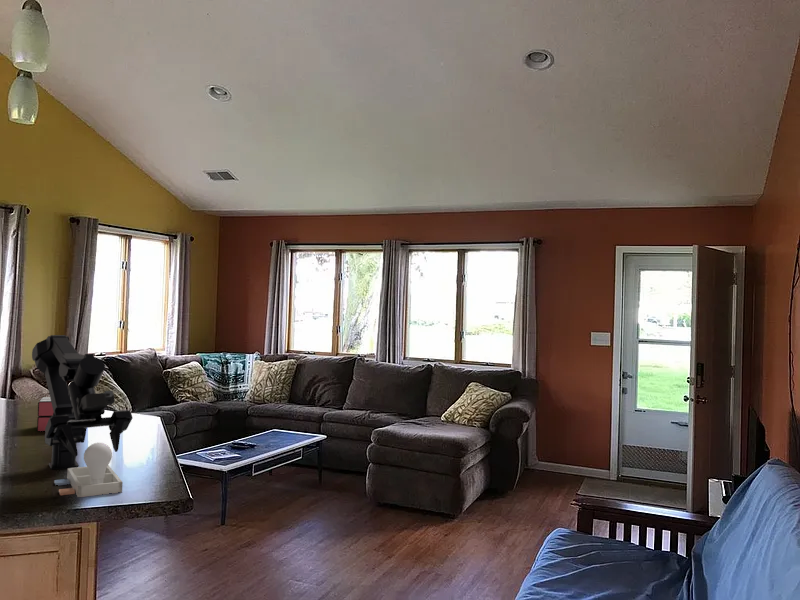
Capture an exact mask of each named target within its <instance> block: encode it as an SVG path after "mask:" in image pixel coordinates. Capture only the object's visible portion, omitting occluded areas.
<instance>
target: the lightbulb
mask: <svg viewBox="0 0 800 600" xmlns="http://www.w3.org/2000/svg"><path fill="white" fill-rule="evenodd" d="M112 458H113V451H112V448H110V446H109V445H107V444H106V443H104V442H95V443H92V444H90V445H89V446H88V447H87V448H86V449H85V450H84V453H83V461H84V463H85V466H86V467H88V469H89V473H90V479H91V485H92V484H101V483H103V478H104V476H105V471H106V468H107V466H108V465H109V464H110V463H111V460H112Z"/></svg>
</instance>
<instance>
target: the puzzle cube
mask: <svg viewBox="0 0 800 600" xmlns="http://www.w3.org/2000/svg"><path fill="white" fill-rule="evenodd" d="M53 413H54V411H53V407H52V403H51V399H50V396H48V397H47V396H45V397H44V396H43V397H42V398H40V400H39V401H38V403H37V420H36V421H37V426H36V431H37V432H38V431H40V432H41V431H42V432H43V431H45V428H46V425H47V423H48V420H49V418H50V417H51V416H52V415H53ZM40 432H39V433H40ZM42 432H41V433H42ZM43 433H44V432H43Z"/></svg>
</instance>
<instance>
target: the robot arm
mask: <svg viewBox="0 0 800 600" xmlns="http://www.w3.org/2000/svg"><path fill="white" fill-rule="evenodd" d="M31 358H32V361H34V364H35V366H36V369H37V370H39V371H40V372H41V373H42V374H44V376H45V381H46V385H47V389H48V393H49V397H50V399H51V403H52V407H53V411H54V413H53V415H52V416H51V417H50V418H49V420H48V423H47V425H46V428H45V434H44V443H45V444H46V445H47V446H49V447H52V448H51V449H52V451H51V462H48V466H49V468H50V470H61V469H67V468H76V467H80V465H79V463H78V462H77V461H76V460H77V456H78V455H79V454H78V453H79V452H78V447H77V444H78V443H79V444H81V443H84V442H85V441H86V434H87V429H88V428H97V427H108V429H109V431H110V432H109V438H110V441H111V444H112V448H113V450H114V452H118V451H119V446H120V439H121V434H122V433H123V432H125V431H126V430H128V428H129V426H130V424H131V423H132V419H133V415H132V414H133V413H132V411H130V410H128V409H123V410H113V413H112V415H111V416H109V417H108V416H107V417H102V415H104V414H105V408H107V407H108V406H112V405H113V404H114V403H115V400H116V399H115V394H114V392H113V390H106V391H104V392H103V393H102V392H100V393H98V392H97V393H96V389H95V387H97V386H98V385H99V383H100V380H101V378H102V376H103V373H104V371H105V368H106V365H105V363H104V361H103V360H101V359H100V358H98V357H95V355H94V353H85V354H80V353H78V351H77V350H76V348H75V347H74V346H73V343H71V342H70V337H69V336H68V335H65V334H61V335H60V334H54V335H53V334H51V335H48V336H47V338H46V339H43V340H41V341H39V342H37V343H35V345H34V346H33V348H32V351H31ZM69 381H70V383H69V384H68V383H67V382H69Z"/></svg>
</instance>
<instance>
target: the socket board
mask: <svg viewBox="0 0 800 600" xmlns="http://www.w3.org/2000/svg"><path fill="white" fill-rule="evenodd" d="M66 469H67V470H66V473H67V475H66V478H62V479H55V480H53V484H54V485H55V486H56V485H58V486H66V485H67V484H68V485H71V487H68V488H59V489H58V493H59V496H68V495H76V496H77V498H84V497H93V496H102V494H103V495H110V494H109V493H112V494H119V493H118V492H120V493H123V480H121V478H120V476H118V475H117V474H116V472H115V471H114V469H112V467H111V466H110V465H109V464H108V466H107V468H106V471H105V476H104V478H103V483H101V484H92V485H91V479H90V473H89V469H88V467H87V466H79V467H74V468H66Z"/></svg>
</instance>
